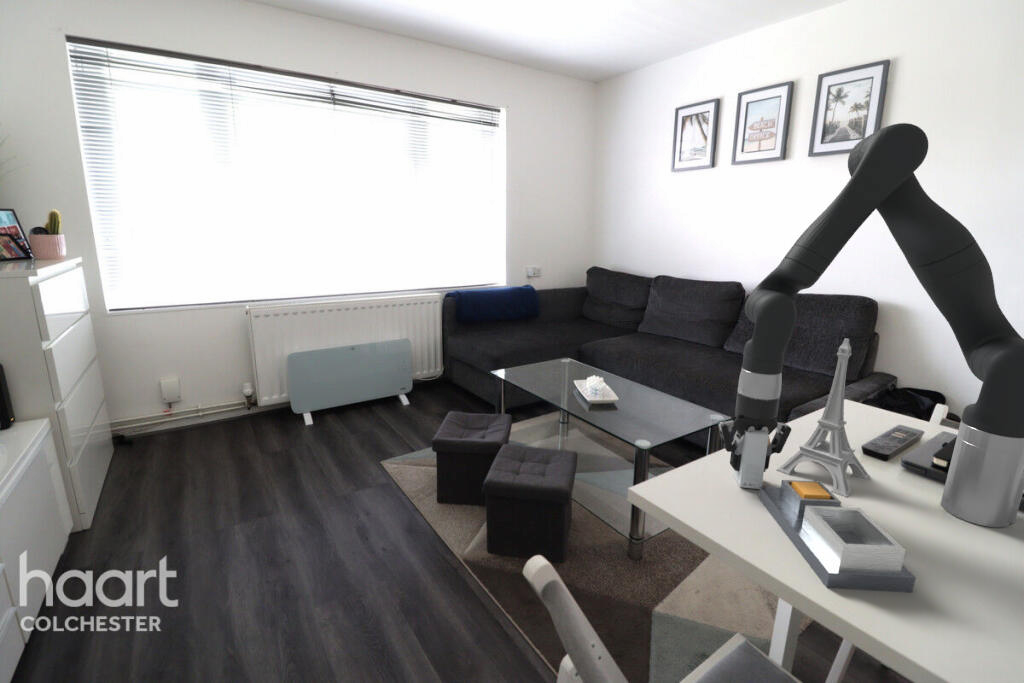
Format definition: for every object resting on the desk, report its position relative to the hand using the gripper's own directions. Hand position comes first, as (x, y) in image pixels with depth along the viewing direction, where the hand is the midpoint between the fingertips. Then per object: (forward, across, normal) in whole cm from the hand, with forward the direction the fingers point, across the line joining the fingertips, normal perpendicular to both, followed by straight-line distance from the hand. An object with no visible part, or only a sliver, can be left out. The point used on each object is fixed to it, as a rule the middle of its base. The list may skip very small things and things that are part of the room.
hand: (748, 469), depth 99 cm
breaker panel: (+3, -6, +18) cm, 19 cm away
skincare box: (+3, 0, 0) cm, 3 cm away
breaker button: (0, -6, +12) cm, 13 cm away
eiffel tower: (+3, -18, -5) cm, 19 cm away
